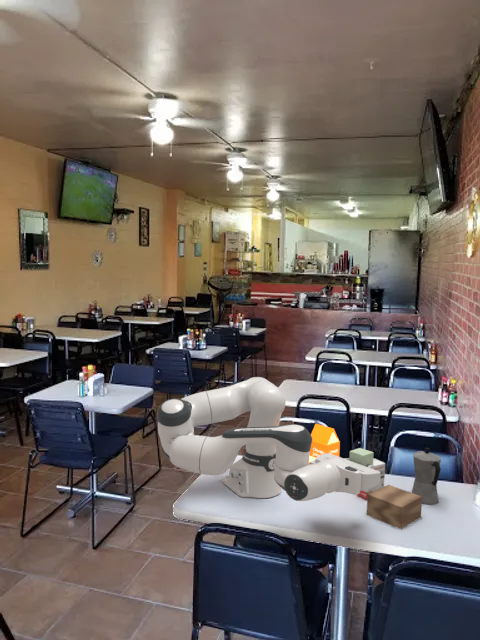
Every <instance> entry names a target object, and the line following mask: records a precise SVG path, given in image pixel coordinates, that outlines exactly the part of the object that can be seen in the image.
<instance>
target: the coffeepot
mask: <svg viewBox="0 0 480 640" xmlns="http://www.w3.org/2000/svg"><path fill="white" fill-rule="evenodd" d="M412 457H413V468H414V475H415V478H414V481H413V486H412V489H411V493H413V494H416V495H419V496H421V497H422V505H426V506H427V505H430V506H431V505H436V504H438V503H439V497H438V496H439V495H438V489H437V488H438V487H437V484H438V481H439V477H440V474H441V469H442V468H441V461H442V459H441V456H440V455H437V454H435V453H434V452H430V448H429V447H424V451H423V450H419V451H418V450H416V452H413V453H412Z"/></svg>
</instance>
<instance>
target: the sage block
mask: <svg viewBox="0 0 480 640" xmlns="http://www.w3.org/2000/svg"><path fill="white" fill-rule="evenodd" d="M374 454H375V453H374V452H373V451H371V450H367V449H364V448H362V447H358V448H355V449H352V450H349V457H348V458H349V461H352V462H355V463H358V464H360V465H363V466H366V465H367V464H371V465H373V459H374Z"/></svg>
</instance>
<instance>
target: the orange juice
mask: <svg viewBox="0 0 480 640" xmlns="http://www.w3.org/2000/svg"><path fill="white" fill-rule="evenodd" d="M310 435H311V436H312V445H311V450H310V456H309V463H310V461H313V460H315V458H316V457H318V456H320V455H322V454H325V453H330V454H333V455H335V456H338V457H340V449H341V447H340V446H341V444H340V443H341V441H340V440H339V437H338V436H337V433H336V431H335V428H332V427H329V426H325V425H322V424H319V423H315V424H314V427H313V429H312V431H311V433H310ZM309 465H310V464H309Z"/></svg>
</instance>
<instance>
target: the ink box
mask: <svg viewBox="0 0 480 640" xmlns="http://www.w3.org/2000/svg"><path fill="white" fill-rule="evenodd" d="M373 465H374V470H377V471H379V472H380V476H381V479H380V484H379V485H378V486H376V487H374V488H371V489H368V490H364V491H361V490H360V493H359V494H357V496H358V497H360V498H362V499H364V500H367V496H368V494H369V493H371V492H373V491H376V490H378V489H380V488H382V487H384V486H385V473H386V462H384V461H381V460H379V459H377V458H373Z"/></svg>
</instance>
